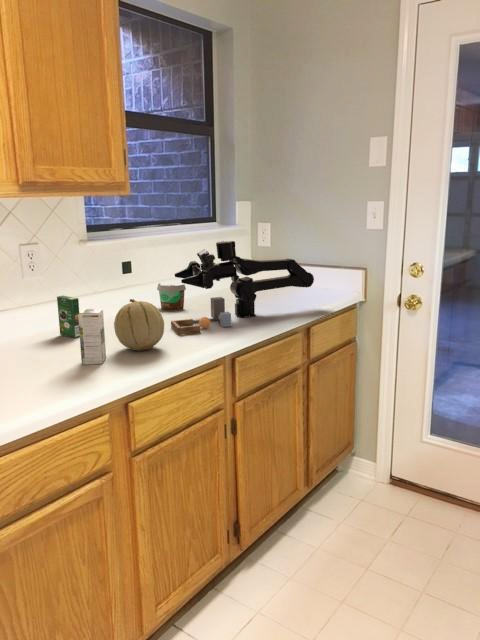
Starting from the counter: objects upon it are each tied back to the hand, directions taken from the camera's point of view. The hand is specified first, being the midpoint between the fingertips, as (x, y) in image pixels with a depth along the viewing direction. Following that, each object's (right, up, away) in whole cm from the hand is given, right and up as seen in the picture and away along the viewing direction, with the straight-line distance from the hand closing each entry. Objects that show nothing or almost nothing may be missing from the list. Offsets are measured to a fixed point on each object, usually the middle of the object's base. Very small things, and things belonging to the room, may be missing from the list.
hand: (178, 278), depth 188 cm
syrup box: (-18, -26, -40) cm, 52 cm away
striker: (+15, -16, +1) cm, 22 cm away
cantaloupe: (-8, -24, -29) cm, 39 cm away
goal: (+3, -18, -8) cm, 20 cm away
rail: (+9, -16, +3) cm, 18 cm away
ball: (+10, -16, -6) cm, 20 cm away
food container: (-6, -11, +26) cm, 29 cm away
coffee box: (-34, -20, -13) cm, 41 cm away
